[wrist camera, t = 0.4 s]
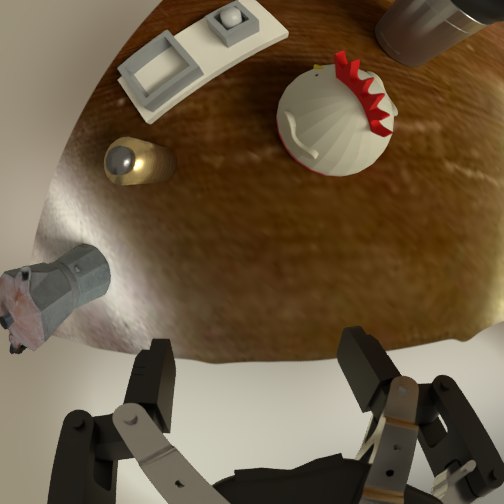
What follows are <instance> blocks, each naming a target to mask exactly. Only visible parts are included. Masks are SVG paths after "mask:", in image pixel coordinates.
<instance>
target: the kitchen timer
mask: <svg viewBox="0 0 504 504" xmlns="http://www.w3.org/2000/svg"><path fill="white" fill-rule="evenodd" d="M359 64H360V59H357V60H354V61H351V62H349V63H347V61H346V56H345V51H341V52H338V53H336V54H335V64H332V65H324V66H319V65H316V64H315V65H314V68H313V69H312V70H310V71H308V72H305V73H303V74H301V75H299V76H298V77H297V78H296V79H295V80H294V81H293V82H292V83H291V84H290V85H288V86H287V88H286V89H285V91H284V93H283V95H282V97H281V99H280V101H279V105H278V111H277V117H276V122H277V129H278V135H279V137H280V139H281V141H282V143H283V145H284V148H285V149H286V150H287V152H288V153H289V154H290V155H291V156H292V157H293V159H294V160H295V161H296V162H298V163H299V164H301V165H302V166H304V167H305V168H306V169H308V170H310V171H313V172H316V173H318V174H321V175H327V176H345V175H350V174H354V173H358V172H360V171H361V170H363V169H365V168H367V167H368V166H370V165H372V164H373V163H374V162H375V160H376V159H377V158H378V157H379V156H380V155H381V154H382V153H383V151H384V150H385V148H386V146H387V144H388V142H389V140H390V137H391V135H392V133H393V121H394V116H397V114H398V111H397V109H396V107H395V105H394V104H393V102H392V101H391V100H390V98H389V97H388V95H387V93H386V91H385V89H384V86H383V83H382V81H381V79H380V78H379V77H378V76H377V75H376V74H374V73H373V72H370V71H368V72H367V73H366V72H364V71H361V70H359Z"/></svg>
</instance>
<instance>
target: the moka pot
mask: <svg viewBox="0 0 504 504" xmlns="http://www.w3.org/2000/svg"><path fill="white" fill-rule="evenodd" d="M110 277H111V275H110V269H109V265H108V263H107V261H106V259H105V257H104V256H103V254H102V253H101V252H100V251H99V250H98V249H97V248H95V247H93V246H91V245H86V244H81V245H79V246H77V247H76V248H74V249H72V250H71V251H69V252H68V253H66V254H65V255H63V256H62V257H60V258H59V259H58V260H56V261H55V262H52V263H49V264H46V263H40V264H35V265H31V266H24V267H22V268H18V269H13V270H9V271H5V272H4V273H3V274H2V276H1V277H0V324H1V325H2V327H3V328H4V329H8V330H9V332H10V334H9V341H10V343H11V345H10V353H11V354H13V353H16V354H17V353H18V354H20V353H22V351H23V350H25V349H26V348H29V349H31V350H32V351H35V350H36V349H37V348H38V347H40V346H41V345H42V344H43V343H44V342H45V341H46V340H47V339H48V338H49V337H50V336H51V335H52V334H53V333H54V331H55V330H56V329H57V328H58V327H59V326H60V325H61V324H62V322H63V321H64V320H65V319H66V318H67V317H68V316H69V315H70V314H71V313H72V311H73V310H74V309H75V308H77V307H79V306H81V305H83V304H85V303H88V302H90V301H92V300H94V299H96V298H98V297H101V296H103V295H105V293H106V292H107V290H108V287H109V284H110ZM21 344H22V345H21Z"/></svg>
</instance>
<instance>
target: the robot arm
mask: <svg viewBox="0 0 504 504" xmlns="http://www.w3.org/2000/svg"><path fill="white" fill-rule="evenodd" d="M498 21H504V0H395V1H394V2H393V4H392V5H391V6H390V7H389V9H388V10H387V11H386V12H385V14H384V15H383V16H382V18H381V19H380V20H379V22H378V23H377V24H376V27H375V35H376V39H377V41H378V43H379V44H380V46H381V47H382V49H383V50H384V51H385V52H386V53H387V54H388V55H389V56H390V57H391V58H393V59H394V60H396V61H397V62H399V63H401V64H403V65H406V66H409V67H419V66H421V65H423V64H424V63H426V62H428V61H429V60H431V59H432V58H434V57H436V56H437V55H439V54H441V53H442V52H444V51H445V50H447V49H449V48H450V47H452V46H454V45H455V44H457V43H459V42H460V41H462V40H464V39H465V38H467V37H469V36H471V35H472V34H474V33H476V32H477V31H479V30H481V29H483V28H485V27H486V26H488V25H491V24H493V23H495V22H498ZM337 359H338V363H339V365H340V367H341V369H342V371H343V373H344V375H345V377H346V379H347V381H348V383H349V385H350V387H351V389H352V391H353V394H354V396H355V398H356V400H357V402H358V404H359V406H360V408H361V410H362V412H363V413H364V412H368V411H372V413H373V415H372V417H371V419H370V422H369V426H368V428H367V431H366V434H365V437H364V440H363V443H362V446H361V448H360V450H359V452H358V454H357V455H356V457H355V459H346V458H343V457H342V454H341V453H339V454H335V455H331V456H328V457H323V458H319V459H315V460H313V461H311V462H309V463H306V464H304V465H302V466H299V467H297V468H295V469H292V470H285V469H271V468H254V469H241V470H234V473H235V475H233V476H230V477H227V478H224V479H222V480H220V481H218V482H216V483H215V484H213V485H212V486H211V485H210V484H209V483H208V482H207V481H206V480H205V479H204V478H203V477H202V476H201V475H200V474H199V473H198V472H197V471H196V470H195V469H194V467H193V466H192V465H191V464H190V463H189V462H188V461H187V460H186V459H185V458H184V456H183V455H182V454H181V453H180V452H179V451H178V450H177V449H176V448H175V447H174V446H172V445H171V444H170V443H169V441H168V440H167V439H166V438H165V436H164V435H163V433H170V429H171V417H172V405H173V395H174V385H175V377H176V366H175V360H174V356H173V351H172V347H171V342H170V339H152V342H151V346H150V350H141V352H140V353H139V354H138V355H137V356H136V358H135V361H134V365H133V369H132V372H131V376H130V379H129V384H128V387H127V391H126V395H125V399H124V403H123V405H121V406H119V407H118V408H117V409H116V410H115V411H114V413H112V414H109V415H103V416H95V417H92V416H91V415H90V414H89V413H88V412H86V411H84V410H74V411H72V412H70V413H69V414H68V415H67V416H66V417H65V419H64V421H63V426H62V429H61V433H60V437H59V441H58V445H57V450H56V455H55V459H54V464H53V469H52V474H51V481H50V487H49V494H48V502H47V504H116V482H117V467H118V460H122V459H129V458H135V459H136V460H137V461H138V463H139V466H140V467H141V469H142V470H143V472H144V473H145V475H146V476H147V477H148V479H149V480H150V481H151V483H152V484H153V485H154V486H155V488H156V489H157V490H158V492H159V493H160V494H161V495H162V497H163V498H164V499H165V500H166V501H167V503H168V504H472V503H474V502H475V501H477V500H479V499H481V498H482V497H484V496H485V495H487V494H489V493H490V492H492V491H493V490H495V489H496V488H498V487H500V486H501V485H502V483H503V482H504V463H503V461H502V459H501V457H500V455H499V453H498V451H497V450H496V448H495V446H494V444H493V442H492V440H491V439H490V437H489V435H488V433H487V432H486V430H485V428H484V426H483V425H482V423H481V421H480V420H479V418H478V417H477V415H476V413H475V411H474V410H473V408H472V407H471V405H470V403H469V402H468V400H467V399H466V397H465V396H464V394H463V393H462V391H461V390H460V389H459V387H458V385H457V384H456V382H455V381H454V380H453V379H452V378H451V377H449V376H446V375H439V376H437V377H436V378H435V379H434V381H433V382H432V383H430V384H429V383H428V384H417V383H416V381H415V380H413V379H412V378H410V377H407V376H402V375H401V374H400V372H399V371H398V369H397V368H396V367H395V365H394V363H393V362H392V360H391V359H390V357H389V356H388V355H387V353H386V352H385V350H384V349H383V347H382V346H381V344H380V343H379V341H378V340H377V339H375V338H374V337H373V336H371V335H366V333H365V332H364V330H363V329H362V327H360V326H355V327H348V328H344V330H343V333H342V337H341V340H340V344H339V347H338V351H337ZM439 414H440V415H441V417H442V419H443V420H444V422H445V424H446V426H447V429H448V432H446V430H445V428H444V426H443V425H442V423H441V421H440V420H439V417H438V415H439ZM417 439H418V441H419V443H420V445H421V447H422V450H423V451H424V454H425V456H426V458H427V461H428V463H429V465H430V467H431V470H432V472H433V475H434V477H435V479H434V482H433V487H432V488H431V493H432V495H431V494H428V493H426V492H424V491H421V490H419V489H417V488H415V487H412V486H410V485H408V484H406V483H407V480H408V476H409V472H410V469H411V464H412V460H413V456H414V451H415V446H416V441H417ZM433 495H434V496H433Z"/></svg>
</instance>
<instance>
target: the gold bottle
mask: <svg viewBox="0 0 504 504" xmlns="http://www.w3.org/2000/svg"><path fill="white" fill-rule="evenodd" d="M104 169H105V173H106V175H107V177H108V178H109V179H110V180H111V181H112V182H113V183H115V184H117V185H131V184H145V183H161V182H165V181H167V180H169V179H170V178H171V177H172V176H173V175H174V173H175V171H176V169H177V158H176V155H175V154H174V152H173V151H172V150H171V149H169V148H167V147H164V146H160V145H157V144H153V143H150V142H146V141H143V140H139V139H135V138H131V137H122V138H119V139H117V140H116V141H114V142H113V143H112V144H111V145H110V147H109V148H108V150H107V152H106V154H105V158H104Z"/></svg>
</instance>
